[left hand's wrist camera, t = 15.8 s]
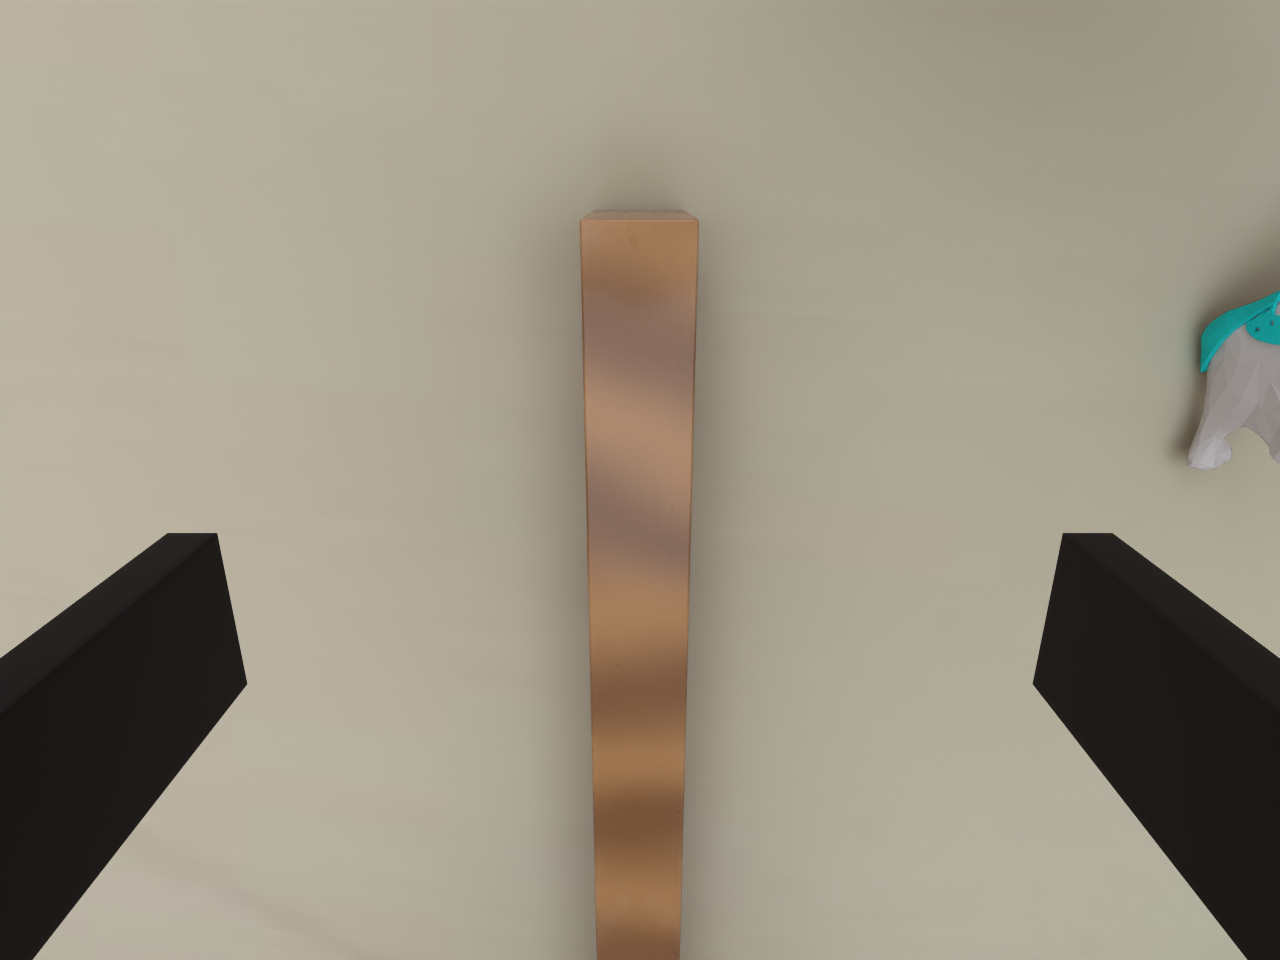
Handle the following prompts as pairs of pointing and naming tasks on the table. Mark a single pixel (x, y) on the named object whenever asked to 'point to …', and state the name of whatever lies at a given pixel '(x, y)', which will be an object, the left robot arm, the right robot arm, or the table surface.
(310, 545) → the table surface
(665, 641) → the wooden plank
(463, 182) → the table surface
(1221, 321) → the anatomical model
